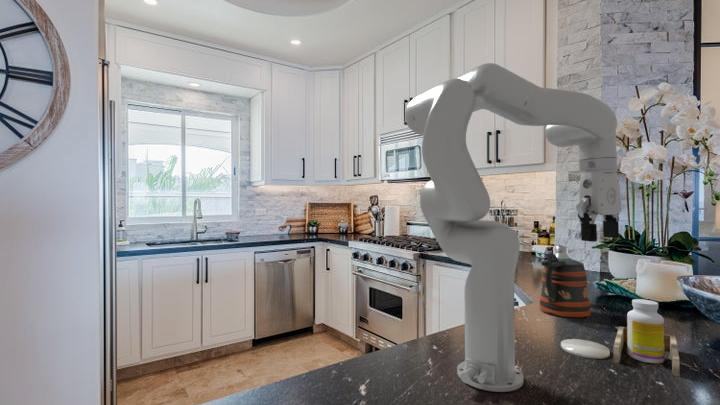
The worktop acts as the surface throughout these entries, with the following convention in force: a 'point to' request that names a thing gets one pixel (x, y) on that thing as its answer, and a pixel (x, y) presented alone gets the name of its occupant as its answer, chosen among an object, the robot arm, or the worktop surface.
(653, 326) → the supplement bottle
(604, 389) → the worktop surface
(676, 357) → the frame
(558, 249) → the plastic bottle
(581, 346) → the disc
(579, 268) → the beer stein
